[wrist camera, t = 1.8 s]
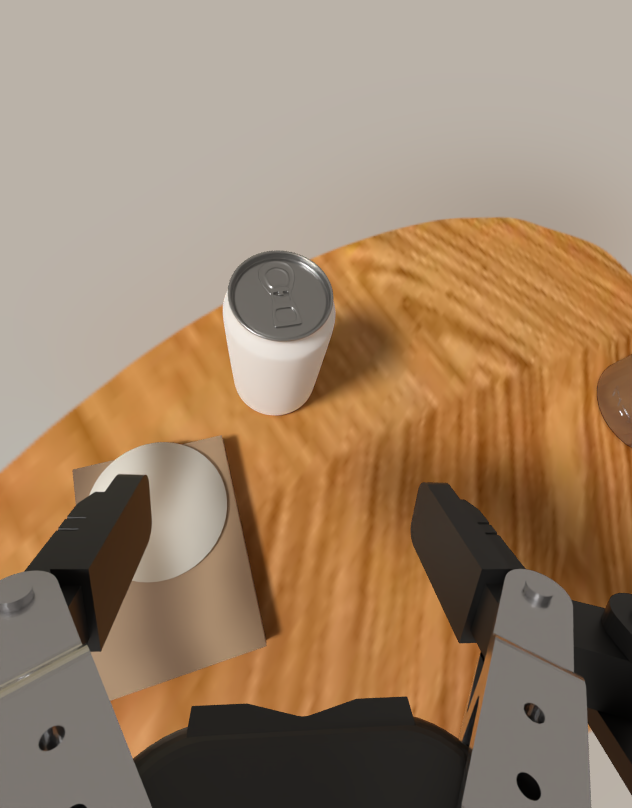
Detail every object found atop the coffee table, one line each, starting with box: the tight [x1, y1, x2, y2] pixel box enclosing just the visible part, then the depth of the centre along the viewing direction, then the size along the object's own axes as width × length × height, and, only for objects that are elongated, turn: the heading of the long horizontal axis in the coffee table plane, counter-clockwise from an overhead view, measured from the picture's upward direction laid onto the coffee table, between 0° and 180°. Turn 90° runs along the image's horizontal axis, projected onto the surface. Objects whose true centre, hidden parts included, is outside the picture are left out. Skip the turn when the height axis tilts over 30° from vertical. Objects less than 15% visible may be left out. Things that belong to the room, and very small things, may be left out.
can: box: [223, 251, 335, 415], centre depth 26 cm, size 6×6×12 cm
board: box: [73, 435, 266, 701], centre depth 26 cm, size 10×14×2 cm
